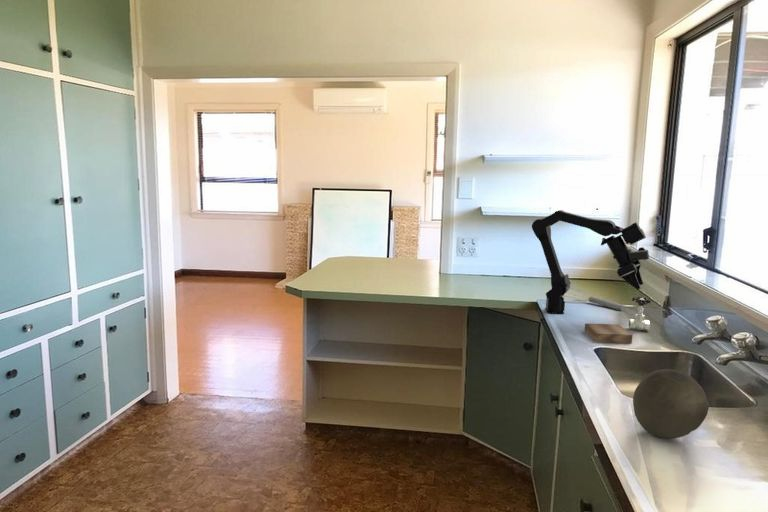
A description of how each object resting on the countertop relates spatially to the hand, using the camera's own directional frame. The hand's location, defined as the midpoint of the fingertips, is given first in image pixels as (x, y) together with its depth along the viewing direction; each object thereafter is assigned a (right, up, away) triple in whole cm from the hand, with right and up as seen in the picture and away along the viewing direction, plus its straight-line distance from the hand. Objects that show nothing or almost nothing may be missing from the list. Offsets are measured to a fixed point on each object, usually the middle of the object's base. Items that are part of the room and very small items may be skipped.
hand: (640, 286), depth 201 cm
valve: (-3, -16, -4) cm, 17 cm away
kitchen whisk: (-6, -10, +34) cm, 36 cm away
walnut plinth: (-18, -17, -14) cm, 28 cm away
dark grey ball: (-34, -29, -83) cm, 94 cm away
